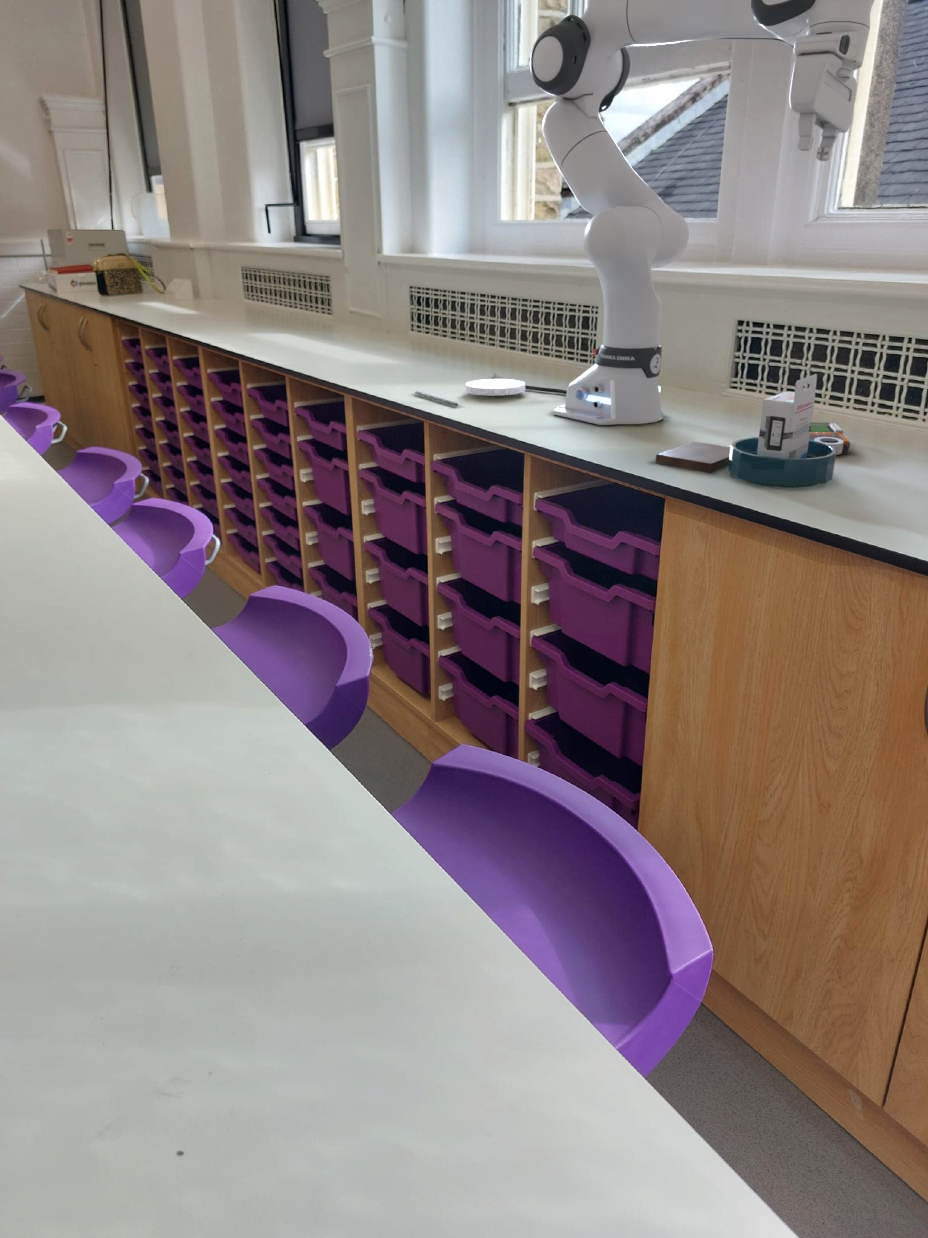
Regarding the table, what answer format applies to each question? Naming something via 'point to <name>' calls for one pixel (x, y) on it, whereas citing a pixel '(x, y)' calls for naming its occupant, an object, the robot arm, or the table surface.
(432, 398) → the rod
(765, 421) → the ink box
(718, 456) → the walnut board
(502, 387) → the plastic lid
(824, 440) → the electronic device
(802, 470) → the bowl
